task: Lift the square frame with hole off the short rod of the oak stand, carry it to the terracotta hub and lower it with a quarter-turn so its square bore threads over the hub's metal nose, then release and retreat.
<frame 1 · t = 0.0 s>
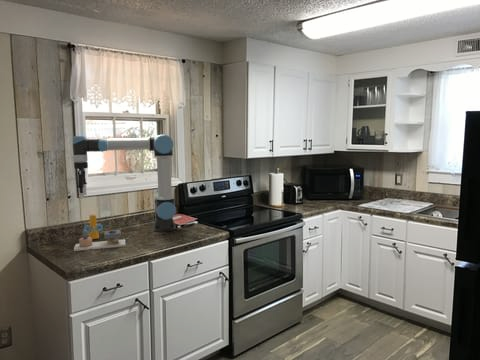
hand: (83, 196, 231), 28 cm above the worktop, fingers open, 13 cm apart
cylinder: (94, 238, 242), on the worktop
square frame with hole: (112, 236, 226), point 5 cm above the worktop, touching stand
board: (100, 246, 224), on the worktop
stand: (113, 244, 226), resting on board
hub: (86, 247, 222), resting on board
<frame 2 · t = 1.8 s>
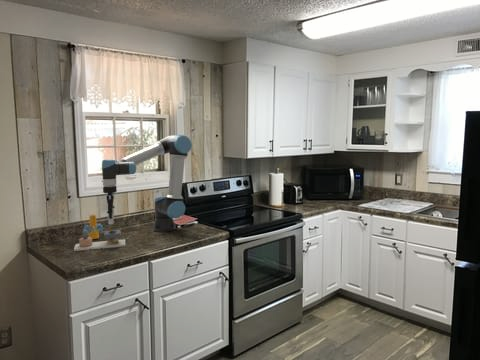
hand: (111, 221, 225), 14 cm above the worktop, fingers open, 13 cm apart
nothing on the worktop moved.
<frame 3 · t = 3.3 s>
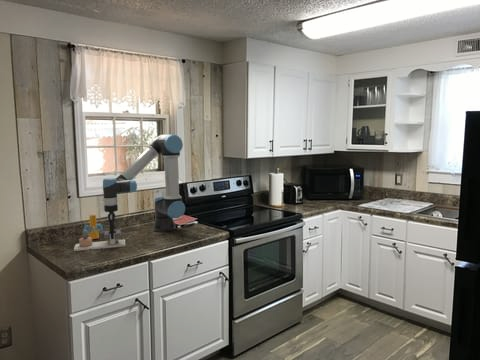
hand: (113, 241, 226), 2 cm above the worktop, fingers closed on square frame with hole, 9 cm apart
square frame with hole: (112, 236, 226), point 5 cm above the worktop, touching gripper, stand
everything else where it was.
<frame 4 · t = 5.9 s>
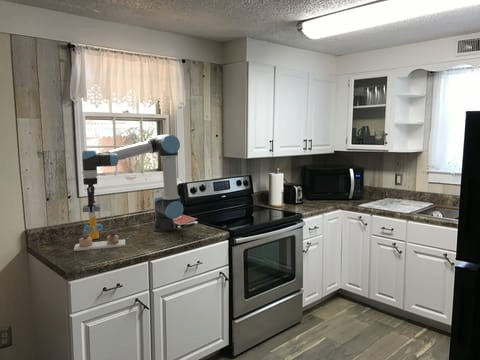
hand: (92, 216, 221), 18 cm above the worktop, fingers closed on square frame with hole, 9 cm apart
square frame with hole: (91, 210, 221), point 22 cm above the worktop, touching gripper
everything else where it was.
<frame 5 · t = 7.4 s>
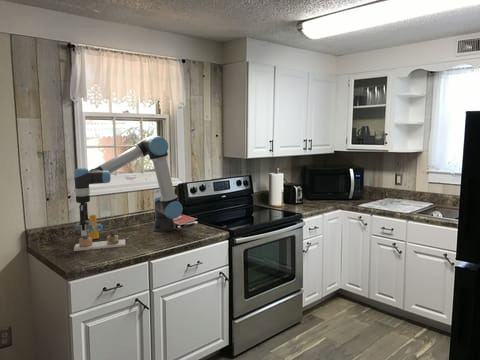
hand: (85, 233, 221), 8 cm above the worktop, fingers closed on square frame with hole, 9 cm apart
square frame with hole: (84, 227, 221), point 12 cm above the worktop, touching gripper
everything else where it was.
when the fingers open (4 cm above the worktop, at t = 8.7 s): square frame with hole drops 3 cm, resting on hub.
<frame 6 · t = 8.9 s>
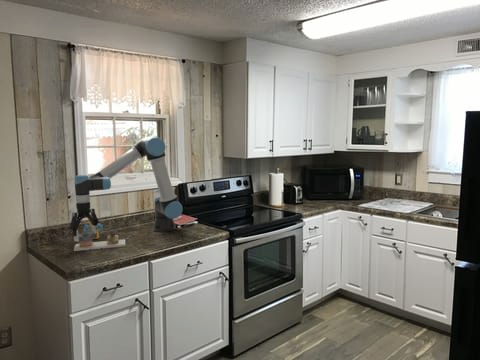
hand: (85, 238, 222), 5 cm above the worktop, fingers open, 11 cm apart
square frame with hole: (85, 238, 222), point 5 cm above the worktop, touching hub
everything else where it was.
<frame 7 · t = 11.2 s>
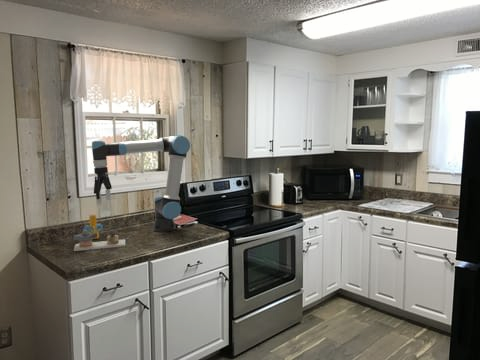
hand: (104, 202, 228), 25 cm above the worktop, fingers open, 13 cm apart
nothing on the worktop moved.
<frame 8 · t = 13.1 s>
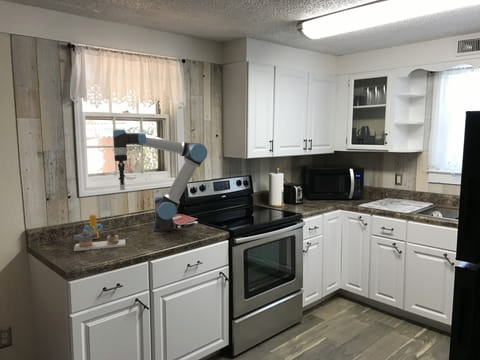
hand: (122, 188, 237), 32 cm above the worktop, fingers open, 13 cm apart
nothing on the worktop moved.
at the end: square frame with hole 0.0 cm off-centre on the hub, point 5.2 cm above the hub's base; the gripper is holding nothing; square frame with hole tilted 0° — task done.
